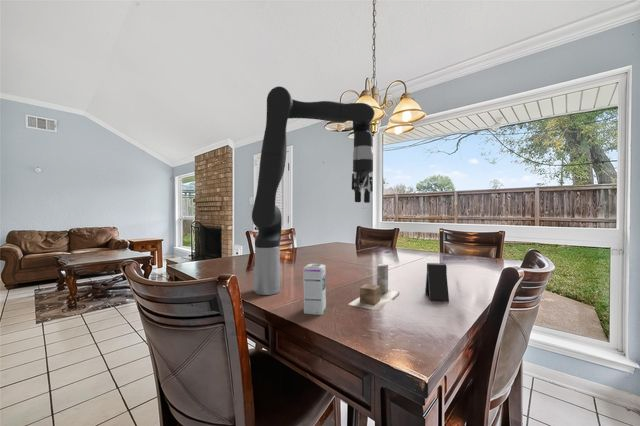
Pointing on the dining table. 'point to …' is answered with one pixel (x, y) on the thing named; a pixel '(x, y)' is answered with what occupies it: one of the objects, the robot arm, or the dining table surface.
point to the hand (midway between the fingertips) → (362, 202)
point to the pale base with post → (384, 292)
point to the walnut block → (369, 294)
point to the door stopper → (437, 282)
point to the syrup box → (314, 289)
